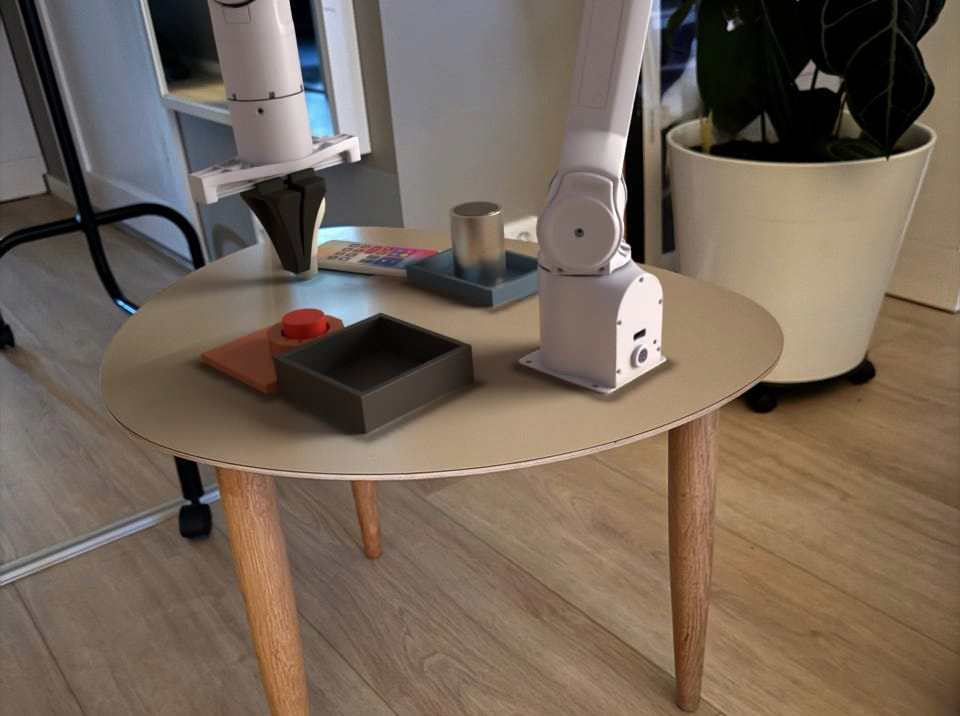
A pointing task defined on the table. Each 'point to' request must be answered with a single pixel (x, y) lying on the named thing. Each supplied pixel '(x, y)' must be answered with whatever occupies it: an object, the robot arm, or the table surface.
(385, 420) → the dark grey open box
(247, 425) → the table surface
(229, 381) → the table surface
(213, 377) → the table surface
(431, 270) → the tray
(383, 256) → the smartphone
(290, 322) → the button
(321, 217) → the lightbulb
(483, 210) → the steel cup
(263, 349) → the control
